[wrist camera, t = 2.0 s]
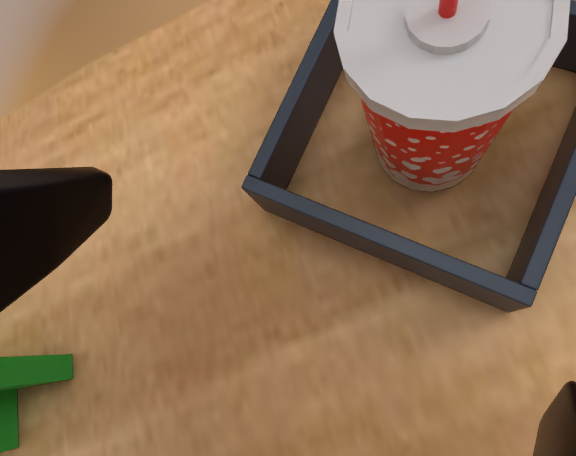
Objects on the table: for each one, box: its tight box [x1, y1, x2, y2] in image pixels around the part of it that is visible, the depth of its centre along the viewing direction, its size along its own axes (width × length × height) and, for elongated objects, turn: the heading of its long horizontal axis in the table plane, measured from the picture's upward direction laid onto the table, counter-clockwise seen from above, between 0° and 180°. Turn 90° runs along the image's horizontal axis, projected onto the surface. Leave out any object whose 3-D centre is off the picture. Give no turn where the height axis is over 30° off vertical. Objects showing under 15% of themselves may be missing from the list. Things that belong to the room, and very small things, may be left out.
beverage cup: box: [334, 0, 570, 192], centre depth 15 cm, size 6×6×14 cm
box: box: [242, 0, 576, 312], centre depth 20 cm, size 11×11×4 cm
